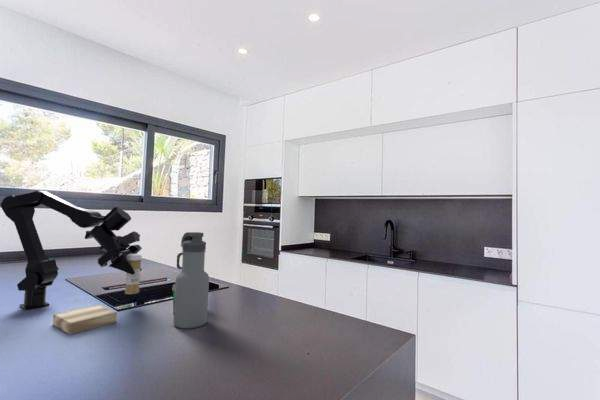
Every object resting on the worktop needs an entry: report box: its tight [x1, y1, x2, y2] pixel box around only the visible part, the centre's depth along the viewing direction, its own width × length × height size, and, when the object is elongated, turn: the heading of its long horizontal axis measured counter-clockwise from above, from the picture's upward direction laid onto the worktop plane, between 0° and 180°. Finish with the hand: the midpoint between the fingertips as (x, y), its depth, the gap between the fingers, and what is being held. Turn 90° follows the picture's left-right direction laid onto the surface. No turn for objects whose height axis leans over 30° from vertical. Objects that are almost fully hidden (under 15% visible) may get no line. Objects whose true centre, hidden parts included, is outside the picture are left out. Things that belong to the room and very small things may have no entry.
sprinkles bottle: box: [124, 253, 143, 295], centre depth 108 cm, size 5×5×13 cm
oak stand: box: [52, 304, 118, 335], centre depth 92 cm, size 12×12×3 cm
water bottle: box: [173, 231, 210, 330], centre depth 96 cm, size 10×10×28 cm
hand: (137, 272), depth 108 cm, fingers closed on sprinkles bottle, 4 cm apart
